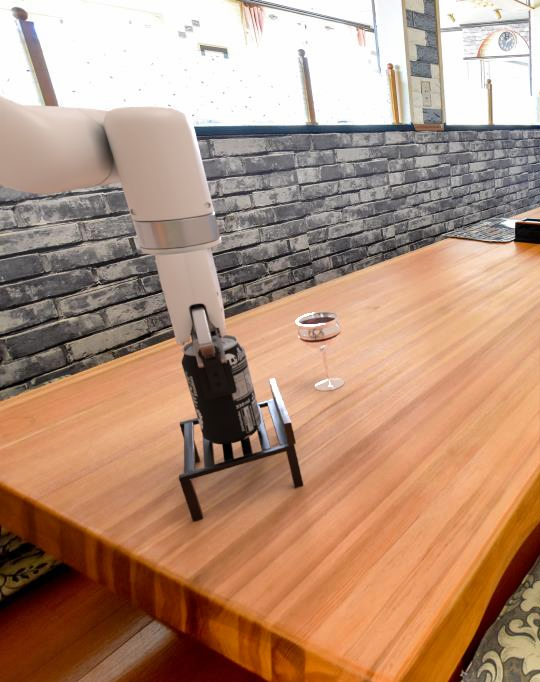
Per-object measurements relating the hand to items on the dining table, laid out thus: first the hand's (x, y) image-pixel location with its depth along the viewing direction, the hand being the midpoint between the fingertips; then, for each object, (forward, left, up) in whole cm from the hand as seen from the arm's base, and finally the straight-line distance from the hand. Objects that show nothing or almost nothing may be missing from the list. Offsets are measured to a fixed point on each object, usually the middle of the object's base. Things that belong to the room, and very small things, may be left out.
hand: (219, 381), depth 63 cm
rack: (0, 0, -13) cm, 13 cm away
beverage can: (0, 0, -7) cm, 7 cm away
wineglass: (+15, +20, -13) cm, 28 cm away
